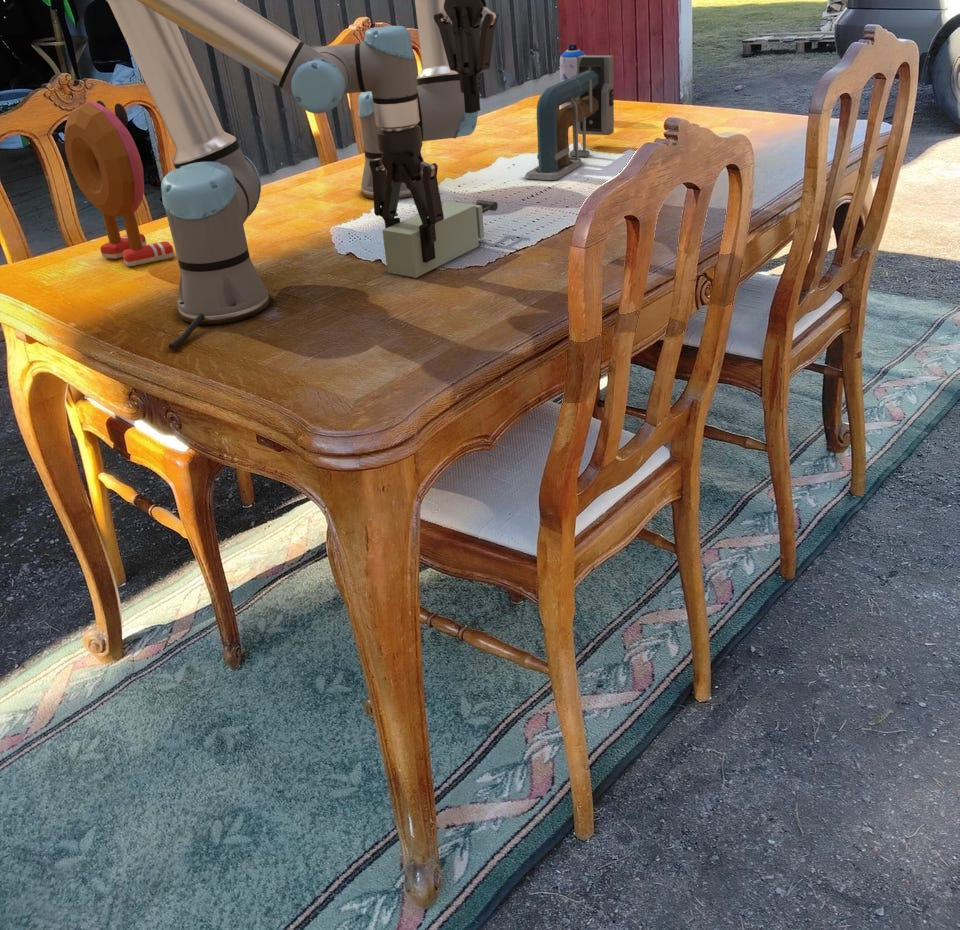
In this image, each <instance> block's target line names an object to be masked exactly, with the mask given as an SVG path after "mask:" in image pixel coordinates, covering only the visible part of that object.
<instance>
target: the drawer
mask: <svg viewBox="0 0 960 930" xmlns="http://www.w3.org/2000/svg"><path fill="white" fill-rule="evenodd" d="M461 203H462V204H466V203H465V202H461ZM469 204H470V205H474V204H472V203H469ZM475 205H476V216H477V229H478V240H481V239H483V238H485V229H484V228H485V227H484V215H483V214H484V213H486V212H489V211H490V212H491V211H492V212H496V211H498V207H499V205H498V202H497V201H491V200H484V199H478V200H476V202H475Z"/></svg>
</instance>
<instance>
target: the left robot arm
mask: <svg viewBox="0 0 960 930" xmlns="http://www.w3.org/2000/svg"><path fill="white" fill-rule="evenodd" d="M105 1H106V2H107V3H108V5H109V7H110V9H111V12H112V13H113V16H114V18H115V20H116V22H117V24H118V27H119V28H120V31H121V33H122V35H123V38H124V39H125V42H126V44H127V46H128V48H129V50H130V52H131V54H132V57H133V59H134V62H136V66H137V67H138V70H139V72H140V74H141V76H142V79H143V80H144V82H145V85H146V87H147V89H148V91H149V93H150V96H151V98H152V101H153V102H154V104H155V106H156V108H157V112H158V113H159V115H160V117H161V120H162V121H163V124H164V126H165V128H166V130H167V133H168V135H169V137H170V139H171V141H172V144H173V145H174V148H175V153H174V155H173V158H172V165H173V167H174V168H173V169H172V170H171V171H169V172H168V173H166V175H165V176H164V177H163V178H162V180H161V183H160V190H161V199H162V206H163V208H164V210H165V214H166V218H167V221H168V226H169V230H170V234H171V238H172V241H173V248H174V250H175V251H174V252H175V254H176V258H177V262H178V266H179V283H178V294H177V310H178V314H179V318H180V319H182V320H183V321H184V322H186V323H189V325H188V326H187V328H186V329H185V330H184V332H183V333H181V335H180V336H178V337H176V339H174V340H173V341H172V342H171V343H169V344H168V348H169V350H171V351H173V350H175V349H176V348H178V347H179V346H180V345H182V344H183V343H184V342H185V341H187V339H188V338H189V337H190V336H191V334H192V333H193V332H194V331H195V329H196V328H197V327H198V326H199V325H202V326H203V325H204V326H205V325H206V326H210V325H222V324H230V323H233V322H239V321H241V320H245V319H248V318H251V317H253V316H256V315H258V314H260V312H263V311H264V310H265V309H266V308H267V307H268V306H269V305H270V296H269V291H268V289H267V287H266V284H265V283H264V282H263V280H262V278H261V276H260V274H259V272H258V270H257V269H256V267H255V265H254V264H253V262H252V260H251V257H250V251H249V246H248V241H247V236H246V232H245V227H244V224H245V222H246V221H247V220H248V218H249V217H250V216H251V215H252V214H253V213H254V212H255V210H256V209H257V206H258V204H259V201H260V198H261V192H262V180H261V176H260V173H259V171H258V169H257V167H256V165H255V164H254V163H253V162H252V160H251V159H250V158H249V157H248V156H246V155H244V153H243V151H242V148H241V146H240V144H239V142H238V140H237V137H236V136H234V135H232V134H230V133H228V132H226V131H225V130H224V129H223V127H222V124H221V122H220V121H219V118H218V116H217V113H216V111H215V109H214V106H213V104H212V101H211V99H210V97H209V95H208V92H207V90H206V88H205V85H204V83H203V81H202V79H201V77H200V74H199V72H198V69H197V67H196V65H195V62H194V60H193V58H192V55H191V53H190V51H189V48H188V47H187V44H186V43H185V40H184V38H183V34H182V33H181V30H180V28H181V29H183V30H184V31H186V32H188V33H190V34H191V35H192V36H195V37H196V38H198V39H200V40H201V41H203V42H205V43H206V44H207V45H209V46H211V47H213V48H214V49H215V50H218V51H219V52H221V53H223V55H226V56H228V57H229V58H231V59H233V60H234V61H236V62H237V63H239V64H241V65H243V66H244V67H246V68H248V69H249V70H251V71H252V72H254V73H256V74H258V75H259V76H260V77H262V78H264V79H265V80H267V81H269V82H271V83H272V84H274V85H275V86H277V87H279V88H280V89H282V90H283V91H284V92H286V93H288V94H290V95H291V96H293V98H294V100H295V102H296V103H297V104H298V105H299V107H300V108H301V109H303V110H304V111H306V112H308V113H311V114H316V115H319V114H325V113H328V112H330V111H331V110H333V109H334V108H336V107H338V105H339V104H340V103H342V101H343V99H344V96H345V95H347V94H356V93H362V92H367V91H371V92H372V96H373V104H374V113H375V123H376V126H377V127H379V129H378V131H377V138H378V146H379V150H380V152H382V157H381V158H377V159H374V160H372V161H370V162H369V165H370V168H371V172H372V178H373V197H374V199H373V212H374V215H375V216H376V217H380V218H382V220H383V221H384V227H385V228H384V229H386V228H388V227H390V226H393V225H395V224H397V223H400V222H401V218H400V217H398V216H399V213H398V212H397V211H398V204H399V200H400V199H399V193H400V187H401V184H402V182H403V183H405V184H406V187H407V189H409V190H410V192H411V194H412V196H411V197H412V201H413V203H414V205H415V207H416V210H417V213H418V214H419V216H420V218H421V221H422V225H420V226H419V230H420V239H421V248H422V258H423V262H425V263H427V262H429V261H431V260H433V259H435V248H434V242H436V231H435V223H437V222H439V221H442V220H443V219H444V215H443V210H442V204H443V203H442V199H441V194H440V193H441V192H440V188H439V181H438V168H439V167H438V164H437V163H435V162H433V163H429V162H426V161H425V160H424V158H423V156H422V153H421V152H422V147H423V141H422V135H421V127H419V125H417V124H418V123H419V121H420V118H419V108H418V98H417V77H416V67H415V65H416V64H415V55H414V50H413V44H412V37H411V33H410V30H409V29H408V28H407V27H405V26H403V25H384V26H379V27H371V28H368V29H367V30H366V31H365V32H364V39H363V41H361V42H359V43H357V42H356V43H351V44H349V43H348V44H335V45H321V46H318V45H312V46H310V45H308V44H306V43H304V41H302V40H301V39H298V38H297V37H295V36H294V35H292V34H291V33H289V32H288V31H286V30H285V29H283V28H281V27H280V26H278V25H277V24H275V23H273V22H272V21H270V20H269V19H267V18H265V17H264V16H262V15H260V14H259V13H258V12H256V11H255V10H253V9H252V8H249V7H248V6H247V5H244V3H242V2H240V1H239V0H105ZM179 27H180V28H179ZM386 170H387V176H386ZM421 170H422V172H421ZM422 176H423V177H422ZM415 180H416V182H414V183H413V181H415Z"/></svg>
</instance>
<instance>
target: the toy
mask: <svg viewBox="0 0 960 930" xmlns="http://www.w3.org/2000/svg"><path fill="white" fill-rule="evenodd" d="M128 124H129V118H128V113H127V111H126V109H125V107H124V106H123V104H121V103H119V102H118V103H115V105H114V111H112V110H111V109H109V108H107V106H106V104H105V103H104V101H101V100H97V101H91V100H89V101H88V102H86V103H84V104H81V105H79V106H77V107H75V108H74V109H72V110H71V111H70V112H69V113H68V116H67V120H66V123H65V126H64V150H65V151H64V152H65V156H66V160H67V164H68V166H69V170H70V172H71V174H72V176H73V178H74V181H75V182H76V185H77V187H78V188H79V190H80V191H81V193H82V194H83V195H84V196H85V197H86V199H87V200H88V202H90V203H91V205H92V206H94V207H95V209H97V210H99V211H100V213H101V217H102V219H103V224H104V227H105V231H106V235H107V238H108V242H106V243H104V244H102V245H101V246H100V253H101V257H102V258H105V259H113V260H116V259H121V258H122V259H123V262H124V264H125V265H126V266H127V267H135V266H140V265H144V264H150V263H154V262H159V261H164V260H167V259H172V258H174V256H175V251H174V246H172V245H171V243H170V242H169V241H160V242H156V243H151V244H148V242H147V240H146V236H145V235H144V233H140V229H139V228H140V227H139V224H138V220H137V218H136V217H137V216H136V214H135V212H136V211H137V210H138V209H139V207H140V206H141V204H142V202H143V200H144V199H143V198H144V194H145V177H144V167H143V162H142V160H141V159H142V158H141V155H140V152H139V150H138V147H137V144H136V143H135V140H134V138H133V136H132V135H131V133H130V131H129V130H128V128H127V126H128ZM117 217H122V221H123V225H124V229H125V232H126V234H124V235H122V236H121V233H120V229H119V224H118V221H117Z"/></svg>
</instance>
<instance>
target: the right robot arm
mask: <svg viewBox="0 0 960 930" xmlns="http://www.w3.org/2000/svg"><path fill="white" fill-rule="evenodd" d="M414 5H415V7H414V8H415V14H416V15H415V16H416V22H417V23H416V24H417V31H418V40H419V41H418V42H419V49H420V56H421V57H420V58H421V65H422V69H421V71H420V72H419V74H418V75H417V77H416V84H417V85H416V87H417V98H418V108H419V118H420V121H419V123H418V124H417V125H419V127H421V135H422V142H429V141H438V140H446V139H447V140H448V139H458V138H461V137H468V136H470V135H472V134H473V133H474V132H475V130H476V128H477V125H478V124H477V123H478V116H479V115H478V114H479V111H481V100H480V93H482V90H483V87H482V85H483V84H482V73H483V72H485V71H487V70H489V69H490V67H491V60H492V52H493V43H494V34H495V27H496V25H497V23H498V20H499V17H500V15H499V13H498V12H497V11H494V12H493V11H492V10H491V9H489V8H488V5H487V1H486V0H414ZM357 104H358V118H359V119H360V127H361V137H362V145H363V151H364V153H363V154H364V167H363V171H362V177H361V182H360V192H361V195H362V196H363V197H364V198H367V199H371V200H374V197H373V178H372V172H371V168H370V165H369V162H370V161H372V160H374V159H377V158H381V157H382V152H380V150H379V146H378V138H377V131H378V129H379V127H377V126H376V123H375V113H374V104H373V96H372V92H371V91H367V92H360V94H359V95H358V98H357ZM421 172H422V170H421ZM386 176H387V170H386ZM422 177H423V176H422ZM414 182H416V180H415V181H413V183H414ZM410 197H412V194H411V192H410V190H409V189H407V187H406V184H405V183H403V182H402V184H401V187H400V193H399V199H398V200H400V199H406V198H410Z"/></svg>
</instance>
